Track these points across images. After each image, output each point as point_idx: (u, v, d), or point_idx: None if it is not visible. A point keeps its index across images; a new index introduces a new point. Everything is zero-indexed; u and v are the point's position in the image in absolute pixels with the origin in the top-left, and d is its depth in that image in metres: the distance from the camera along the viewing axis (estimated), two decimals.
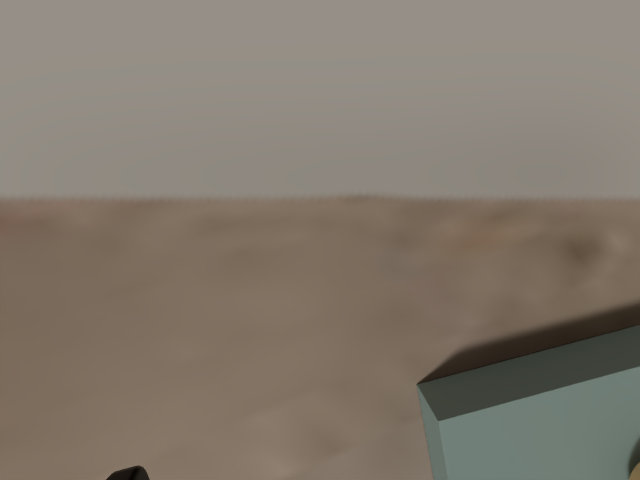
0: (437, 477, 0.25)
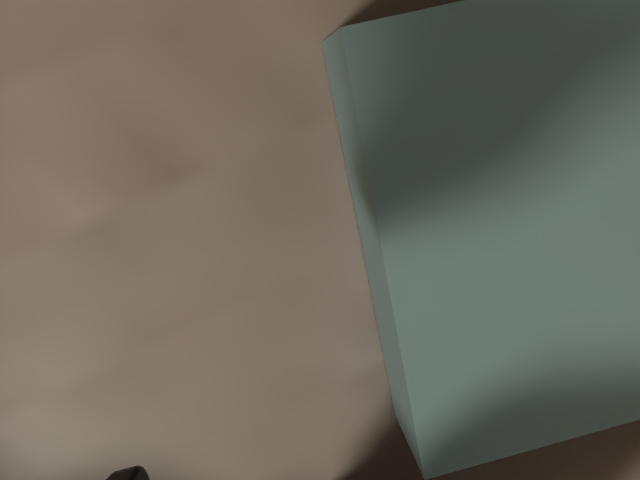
0: (363, 227, 0.14)
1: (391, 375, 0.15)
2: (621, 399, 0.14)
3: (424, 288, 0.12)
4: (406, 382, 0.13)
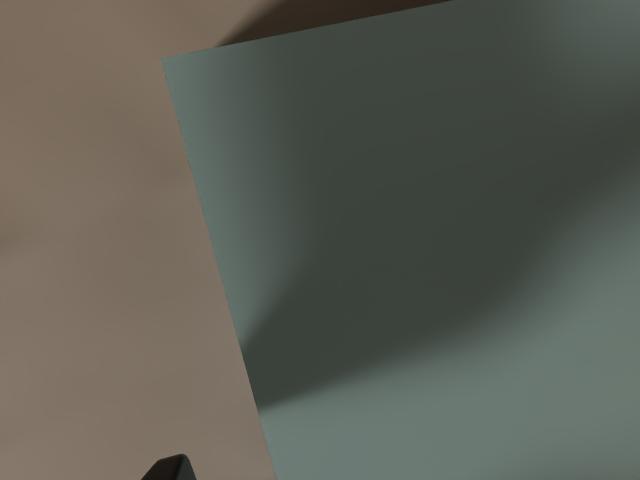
0: None
1: None
2: None
3: (311, 415, 0.09)
4: None
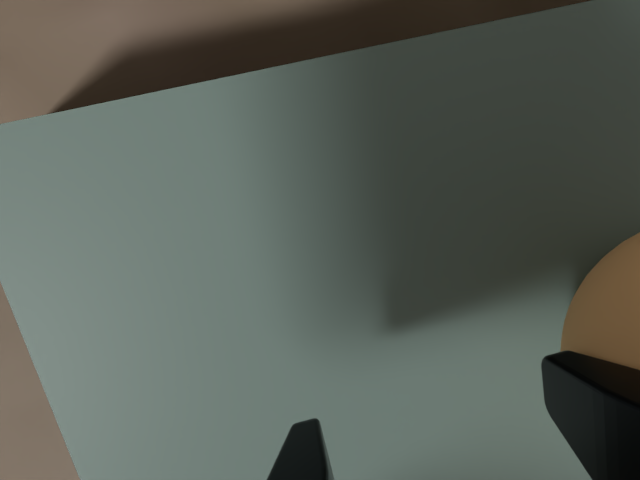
0: None
1: None
2: None
3: (118, 449, 0.10)
4: None
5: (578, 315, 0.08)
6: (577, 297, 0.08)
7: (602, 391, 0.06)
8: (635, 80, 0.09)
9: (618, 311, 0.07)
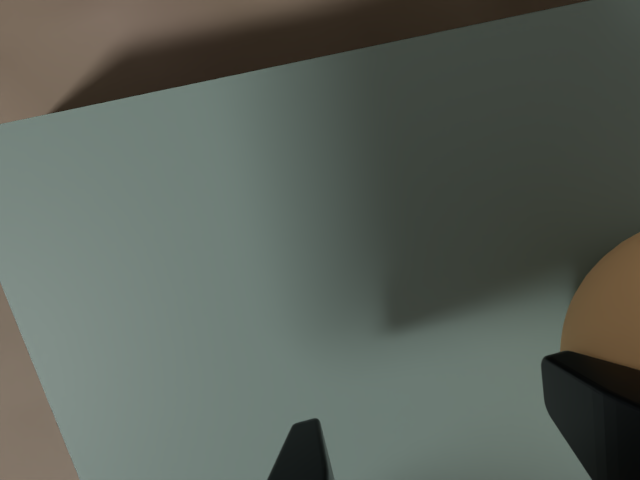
0: None
1: None
2: None
3: (117, 450, 0.10)
4: None
5: (578, 315, 0.08)
6: (577, 297, 0.08)
7: (602, 391, 0.06)
8: (635, 80, 0.09)
9: (618, 312, 0.07)
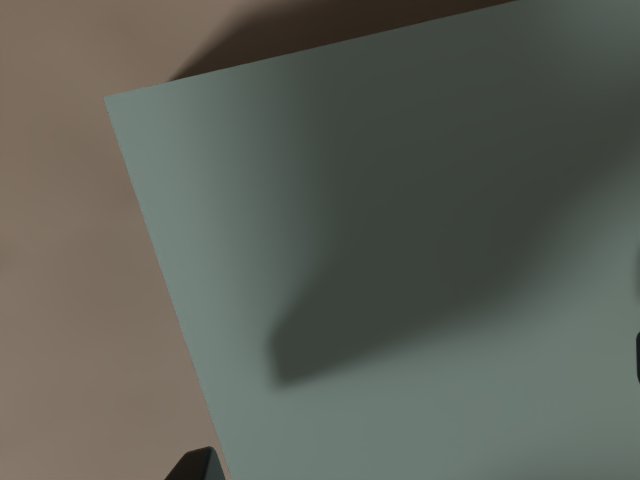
0: None
1: None
2: None
3: (266, 430, 0.09)
4: None
5: None
6: None
7: None
8: None
9: None
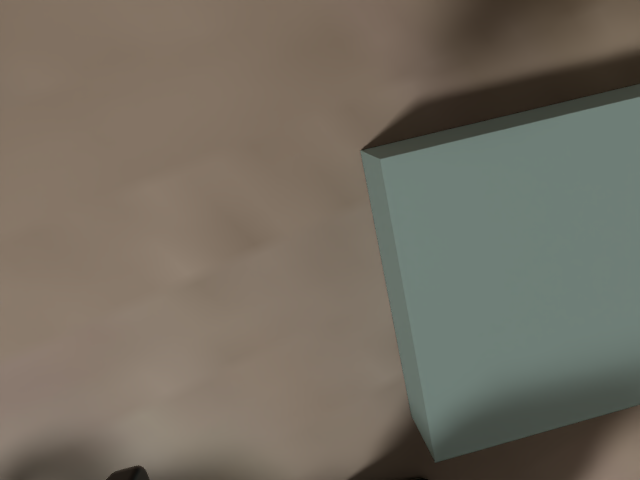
0: (390, 280, 0.19)
1: (409, 386, 0.21)
2: (577, 403, 0.19)
3: (435, 326, 0.18)
4: (422, 392, 0.18)
5: None
6: None
7: None
8: None
9: None
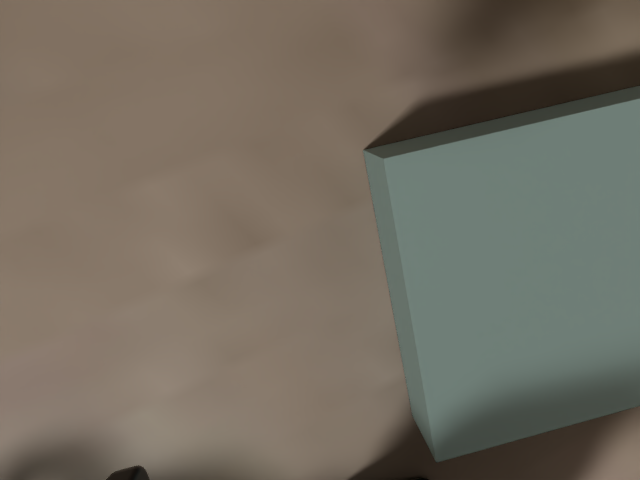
0: (392, 279, 0.19)
1: (410, 386, 0.21)
2: (579, 404, 0.19)
3: (437, 326, 0.18)
4: (424, 392, 0.18)
5: None
6: None
7: None
8: None
9: None
